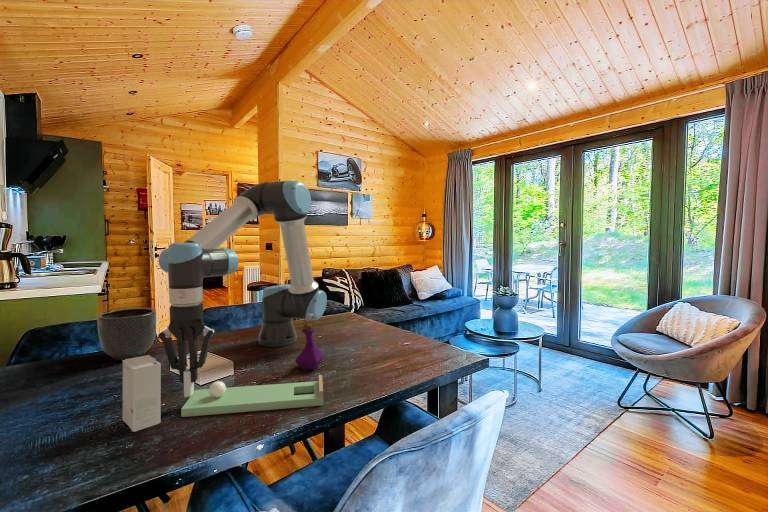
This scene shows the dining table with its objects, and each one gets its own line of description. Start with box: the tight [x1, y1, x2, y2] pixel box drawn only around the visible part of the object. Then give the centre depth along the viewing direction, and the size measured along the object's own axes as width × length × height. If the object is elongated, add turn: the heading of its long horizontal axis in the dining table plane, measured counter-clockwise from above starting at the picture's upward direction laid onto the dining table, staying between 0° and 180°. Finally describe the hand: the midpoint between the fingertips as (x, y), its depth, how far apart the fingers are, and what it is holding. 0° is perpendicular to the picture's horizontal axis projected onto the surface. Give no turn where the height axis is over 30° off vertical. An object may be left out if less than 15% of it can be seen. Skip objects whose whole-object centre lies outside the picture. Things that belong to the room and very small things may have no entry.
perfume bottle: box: [295, 314, 325, 371], centre depth 121 cm, size 8×8×18 cm
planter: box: [96, 307, 157, 361], centre depth 131 cm, size 17×17×16 cm
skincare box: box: [121, 354, 162, 433], centre depth 86 cm, size 8×6×15 cm
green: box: [180, 374, 324, 418], centre depth 97 cm, size 11×34×4 cm, turn 101°
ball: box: [208, 380, 227, 397], centre depth 95 cm, size 4×4×4 cm
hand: (189, 394), depth 94 cm, fingers closed
